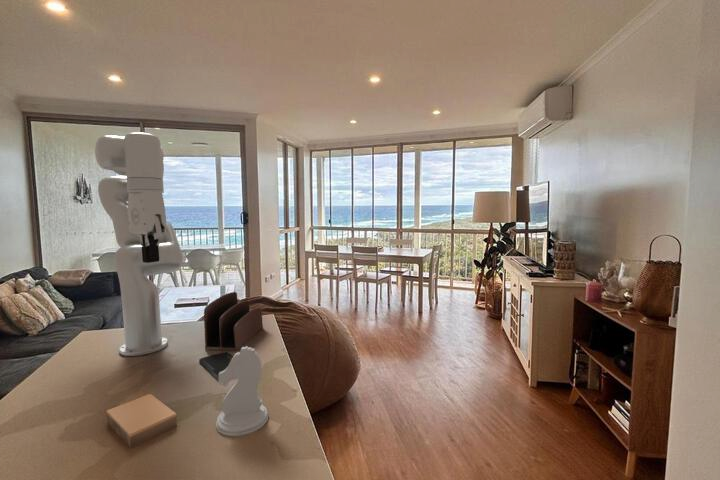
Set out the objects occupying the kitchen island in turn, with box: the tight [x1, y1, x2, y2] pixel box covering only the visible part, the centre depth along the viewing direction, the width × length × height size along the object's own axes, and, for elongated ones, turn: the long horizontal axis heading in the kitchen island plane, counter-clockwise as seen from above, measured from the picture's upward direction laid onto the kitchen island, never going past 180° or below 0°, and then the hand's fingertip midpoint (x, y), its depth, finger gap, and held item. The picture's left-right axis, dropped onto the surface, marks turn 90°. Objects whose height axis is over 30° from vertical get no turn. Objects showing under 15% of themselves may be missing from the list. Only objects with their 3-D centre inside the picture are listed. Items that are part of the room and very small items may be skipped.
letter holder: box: [203, 291, 264, 352], centre depth 114 cm, size 10×20×14 cm, turn 172°
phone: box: [198, 351, 234, 381], centre depth 95 cm, size 8×1×15 cm
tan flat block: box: [106, 393, 178, 448], centre depth 70 cm, size 3×8×12 cm
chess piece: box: [215, 345, 269, 437], centre depth 70 cm, size 10×10×15 cm
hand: (151, 261), depth 88 cm, fingers closed
